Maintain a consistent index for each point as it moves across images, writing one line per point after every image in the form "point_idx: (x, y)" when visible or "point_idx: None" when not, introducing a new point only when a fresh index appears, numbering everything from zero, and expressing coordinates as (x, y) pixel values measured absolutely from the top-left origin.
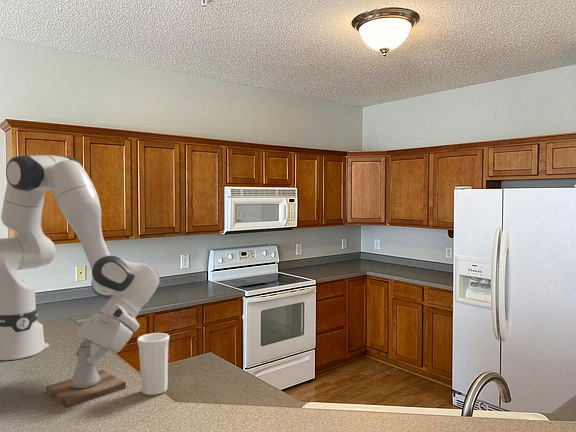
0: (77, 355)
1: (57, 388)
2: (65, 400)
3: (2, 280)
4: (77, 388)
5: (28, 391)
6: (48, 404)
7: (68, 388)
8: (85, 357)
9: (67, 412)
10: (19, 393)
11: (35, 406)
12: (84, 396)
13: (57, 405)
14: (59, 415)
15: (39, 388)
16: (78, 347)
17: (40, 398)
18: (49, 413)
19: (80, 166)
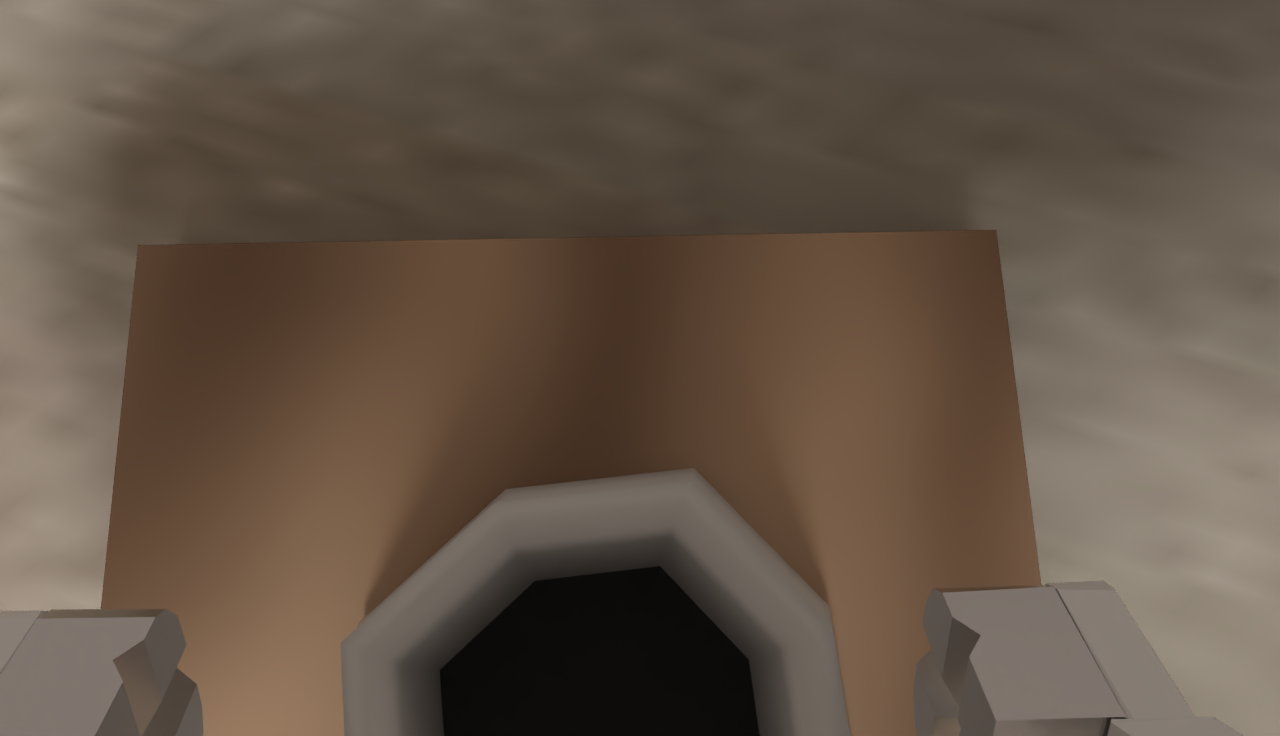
0: (926, 628)
1: (765, 314)
2: (201, 245)
3: None
4: None
5: (1169, 108)
6: (494, 152)
7: (631, 434)
8: (440, 693)
9: (29, 232)
10: (1175, 15)
11: (565, 29)
12: (119, 503)
13: (362, 218)
14: (34, 138)
15: (1183, 238)
16: (699, 530)
17: (786, 142)
18: (203, 78)
19: None
